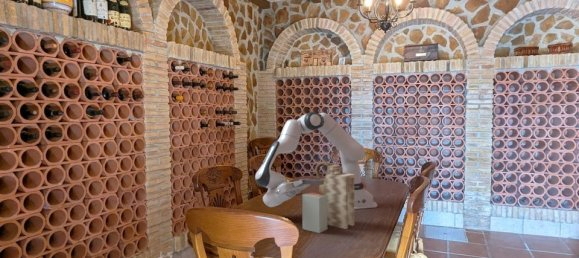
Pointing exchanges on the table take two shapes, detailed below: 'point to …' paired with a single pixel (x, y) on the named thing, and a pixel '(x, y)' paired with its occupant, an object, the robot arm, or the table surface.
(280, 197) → the robot arm
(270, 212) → the table surface
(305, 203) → the grey-green upright block
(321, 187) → the ceramic vessel
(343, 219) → the beige patterned tall block
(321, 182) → the strip
